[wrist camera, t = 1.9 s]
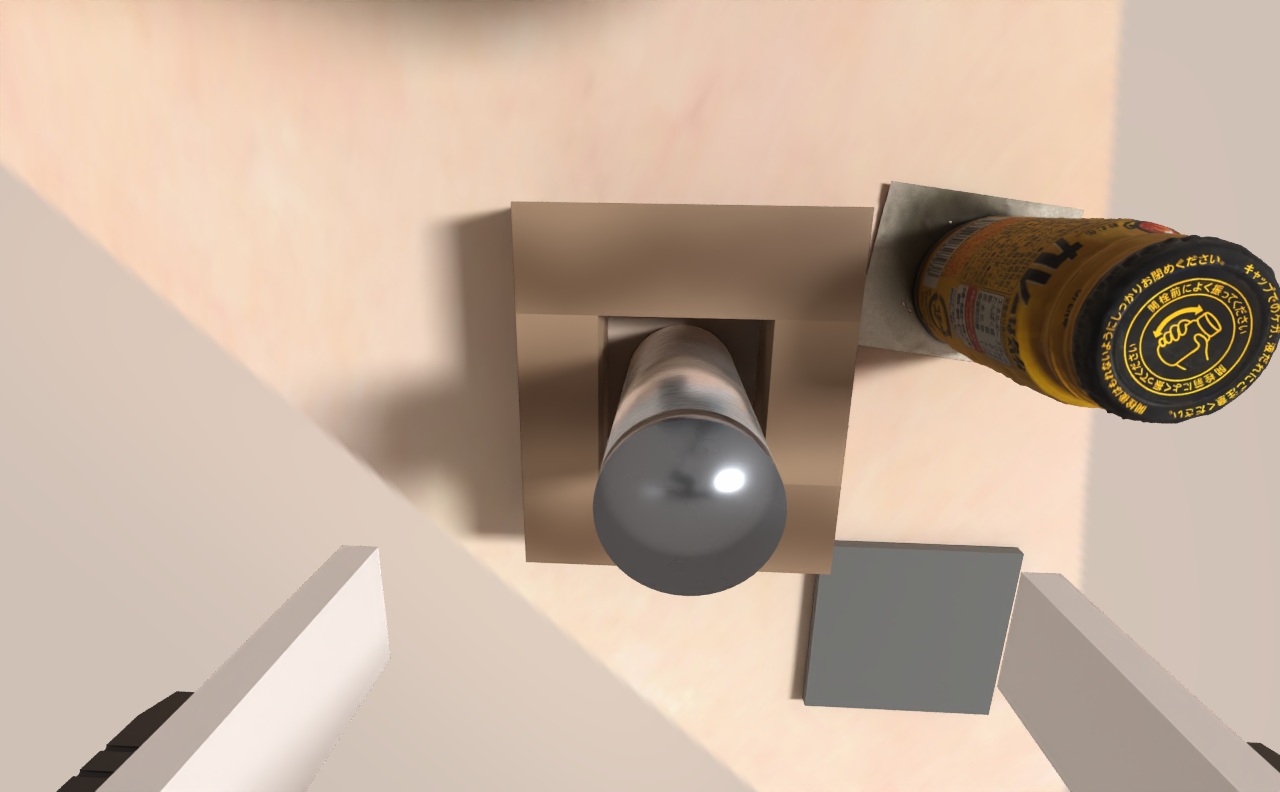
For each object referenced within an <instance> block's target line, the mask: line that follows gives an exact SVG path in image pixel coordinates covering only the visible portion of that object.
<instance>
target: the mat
mask: <svg viewBox="0 0 1280 792" xmlns="http://www.w3.org/2000/svg"><path fill="white" fill-rule="evenodd" d="M1023 555H1024V554H1023V553H1022V552H1021V551H1020V550H1019V549H1018V548H1012V547H987V546H961V545H935V544H910V543H884V542H858V541H834V548H833V557H832V565H831V574H816V582H815V591H814V600H813V609H812V618H811V627H810V636H809V645H808V654H807V663H806V671H805V680H804V689H803V701H804V704H805V706H825V707H845V708H865V709H885V710H905V711H924V712H944V713H964V714H984V715H989V710H990V705H991V701H992V696H993V692H994V687H995V683H996V678H997V674H998V669H999V664H1000V660H1001V655H1002V651H1003V646H1004V642H1005V637H1006V633H1007V628H1008V623H1009V619H1010V614H1011V610H1012V605H1013V601H1014V596H1015V592H1016V587H1017V583H1018V578H1019V573H1020V569H1021V564H1022V560H1023Z"/></svg>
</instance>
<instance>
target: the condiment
mask: <svg viewBox="0 0 1280 792" xmlns="http://www.w3.org/2000/svg"><path fill="white" fill-rule="evenodd" d="M1083 211H1084V210H1082V209H1075V208H1068V207H1061V206H1054V205H1047V204H1040V203H1033V202H1027V201H1020V200H1013V199H1007V198H1000V197H993V196H987V195H980V194H975V193H968V192H961V191H954V190H948V189H940V188H934V187H927V186H920V185H915V184H907V183H901V182H894V181H891V185H890V188H889V192H888V196H887V201H886V203H885V206H884V209H883V214H882V217H881V221H880V225H879V229H878V234H877V237H876V240H875V244H874V248H873V252H872V256H871V260H870V264H869V268H868V272H867V275H866V280H865V288H864V297H863V305H862V314H861V322H860V330H859V339H858V345H862V346H868V347H875V348H882V349H888V350H894V351H903V352H909V353H915V354H923V355H929V356H937V357H944V358H951V359H957V360H964V361H971V362H977V363H979V364H981V365H985V366H987V367H989V368H991V369H993V370H995V371H996V372H999V373H1002V374H1003V375H1005V376H1006V377H1008V378H1011V379H1012V380H1013V381H1014V382H1016V383H1018V384H1019V385H1022V386H1027V387H1029V388H1031V389H1033V390H1035V391H1037V392H1039V393H1041V394H1043V395H1046V396H1048V397H1051V398H1053V399H1055V400H1056V401H1059V402H1062V403H1064V404H1070V405H1075V406H1080V407H1089V408H1102V409H1105V410H1106V411H1107V413H1113V414H1116V415H1117V416H1120V417H1122V419H1130V420H1135V421H1136V420H1137V421H1142V422H1149V423H1179V422H1183V421H1186V420H1188V419H1191V418H1195V417H1199V416H1203V415H1209V414H1212V413H1214V412H1216V411H1218V410H1220V409H1221V408H1223V407H1224V406H1225V405H1227V404H1228V403H1230V402H1231V401H1233V400H1234V399H1236V398H1237V397H1238V396H1239V395H1241V394H1242V393H1243V392H1244V391H1245V390H1247V389H1248V388H1249V387H1250V386H1251V385H1252V384H1253V382H1254V381H1255V380H1256V379H1257V378H1258V377H1259V376H1260V375H1261V373H1262V372H1263V370H1264V369H1265V368H1266V367H1267V365H1268V363H1269V361H1270V359H1271V357H1272V355H1273V352H1274V351H1275V350H1276V348H1277V344H1278V341H1279V339H1280V287H1279V285H1278V283H1277V281H1276V279H1275V274H1274V271H1273V270H1272V268H1270V267H1269V266H1268V265H1267V264H1266V263H1264V262H1263V261H1262V260H1261V259H1259V258H1258V257H1257V256H1255V255H1254V254H1252V253H1251V252H1250V251H1249V250H1247V249H1246V248H1244V247H1243V246H1241V245H1239V244H1235V243H1232V242H1228V241H1226V240H1222V239H1219V238H1216V237H1200V236H1197V235H1190V236H1188V235H1182V234H1180V233H1178V232H1177V231H1175V230H1173V229H1171V228H1168V227H1165V226H1162V225H1159V224H1155V223H1152V222H1146V221H1139V220H1133V219H1121V218H1119V219H1104V218H1099V219H1098V218H1091V219H1085V218H1081V217H1082V214H1083ZM949 221H952V223H951V224H950V223H949ZM902 300H903V301H904V302H905V303H906V306H905V307H904V306H903V305H902V304H901V301H902ZM908 308H911V310H912V312H911V313H909V312H908V310H907V309H908Z"/></svg>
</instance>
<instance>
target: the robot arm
mask: <svg viewBox="0 0 1280 792" xmlns="http://www.w3.org/2000/svg"><path fill="white" fill-rule="evenodd" d="M390 658H391V657H390V648H389V640H388V630H387V621H386V613H385V604H384V595H383V586H382V578H381V568H380V560H379V551H378V547H367V546H341V547H340V548H339V549H338V550H337V551H336V552H335V553H334V554H333V555H332V556H331V557H330V558H329V559H328V560H327V561H326V562H325V563H324V564H323V565H322V566H321V567H320V568H319V569H318V570H317V571H316V572H315V573H314V574H313V575H312V576H311V577H310V578H309V579H308V580H307V581H306V582H305V583H304V584H303V585H302V586H301V587H300V588H299V589H298V590H297V591H296V592H295V593H294V594H293V595H292V596H291V597H290V598H289V599H288V600H287V601H286V602H285V603H284V604H283V605H282V606H281V607H280V608H279V609H278V610H277V611H276V612H275V613H274V614H273V615H272V616H271V617H270V618H269V619H268V620H267V621H266V622H265V623H264V624H263V625H262V626H261V627H260V628H259V629H258V630H257V631H256V632H255V633H254V634H253V635H252V636H251V637H250V638H249V639H248V640H247V641H246V642H245V643H244V644H243V645H242V646H241V647H240V648H239V649H238V650H237V651H236V652H235V653H234V654H233V655H232V656H231V657H230V658H229V659H228V660H227V661H226V662H225V663H224V664H223V665H222V666H221V667H220V668H219V669H218V670H217V671H216V672H215V673H214V674H213V675H212V676H211V677H210V678H209V679H208V680H207V681H206V682H205V683H204V684H203V685H202V686H201V687H200V688H199V689H198V690H197V691H196V692H179V691H178V692H175V693H174V694H172V695H170V696H169V697H167V698H166V699H164V700H162V701H161V702H159V703H157V704H156V705H154V706H153V707H151V708H150V709H148V710H146V711H145V712H143V713H141V714H140V715H138V716H137V717H136V718H135V719H134V720H133V721H132V722H131V723H130V724H128V725H127V726H126V727H125V728H124V729H123V730H122V731H121V732H120V733H119V734H118V735H117V736H116V737H115V738H113V739H112V740H111V741H110V742H109V743H108V744H107V747H106V749H105V750H104V751H100V752H98V753H97V754H96V755H95V756H94V757H93V758H92V759H91V760H90V761H89V762H88V763H87V764H86V765H85V766H84V767H82V769H80V773H79V775H78V776H76V777H75V776H73V777H72V778H71V779H70V780H68V782H66V783H65V784H64V785H63V786H62V787H61V788H60V789H59V790H58V791H57V792H306V790H307V789H308V787H309V786H310V784H311V783H312V781H313V780H314V778H315V776H316V775H317V773H318V772H319V770H320V768H321V767H322V765H323V764H324V762H325V761H326V759H327V758H328V756H329V754H330V753H331V751H332V750H333V748H334V746H335V745H336V743H337V742H338V740H339V739H340V737H341V735H342V734H343V732H344V731H345V729H346V728H347V726H348V724H349V723H350V721H351V720H352V718H353V717H354V715H355V714H356V712H357V710H358V709H359V707H360V706H361V704H362V702H363V701H364V699H365V698H366V696H367V695H368V693H369V691H370V690H371V688H372V686H373V685H374V684H375V682H376V680H377V679H378V677H379V676H380V674H381V673H382V671H383V669H384V668H385V666H386V665H387V663H388V661H389V660H390ZM997 687H998V689H999V690H1000V691H1001V693H1002V694H1003V696H1004V697H1005V699H1006V700H1007V701H1008V703H1009V704H1010V706H1011V707H1012V709H1013V710H1014V711H1015V713H1016V714H1017V716H1018V717H1019V719H1020V720H1021V721H1022V723H1023V724H1024V726H1025V727H1026V729H1027V730H1028V731H1029V733H1030V734H1031V736H1032V737H1033V739H1034V740H1035V742H1036V743H1037V744H1038V746H1039V747H1040V749H1041V750H1042V752H1043V753H1044V754H1045V756H1046V757H1047V759H1048V760H1049V762H1050V763H1051V764H1052V766H1053V767H1054V769H1055V770H1056V772H1057V773H1058V774H1059V776H1060V777H1061V779H1062V780H1063V782H1064V783H1065V784H1066V786H1067V787H1068V789H1069V790H1070V792H1280V755H1278V754H1277V753H1276V752H1274V751H1272V750H1271V749H1269V748H1267V747H1266V746H1264V745H1263V744H1261V743H1249V742H1245V741H1244V740H1243V739H1242V738H1241V737H1240V736H1238V735H1237V734H1236V733H1235V732H1234V731H1233V730H1232V729H1231V728H1230V727H1228V726H1227V725H1226V724H1225V723H1224V722H1223V721H1222V720H1221V719H1220V718H1219V717H1217V716H1216V715H1215V714H1214V713H1213V712H1212V711H1211V710H1210V709H1209V708H1207V706H1205V705H1204V704H1203V703H1202V702H1201V701H1200V700H1199V699H1198V698H1197V697H1196V696H1194V695H1193V694H1192V693H1191V692H1190V691H1189V690H1188V689H1187V688H1186V687H1185V686H1184V685H1182V684H1181V683H1180V682H1179V681H1178V680H1177V679H1176V678H1175V677H1174V676H1172V675H1171V674H1170V673H1169V672H1168V671H1167V670H1166V669H1165V668H1164V667H1163V666H1162V665H1160V664H1159V663H1158V662H1157V661H1156V660H1155V659H1154V658H1153V657H1152V656H1151V655H1149V654H1148V653H1147V652H1146V651H1145V650H1144V649H1143V648H1142V647H1141V646H1140V645H1138V644H1137V643H1136V642H1135V641H1134V640H1133V639H1132V638H1131V637H1130V636H1128V635H1127V634H1126V633H1125V632H1124V631H1123V630H1122V629H1121V628H1120V627H1119V626H1118V625H1116V624H1115V623H1114V622H1113V621H1112V620H1111V619H1110V618H1109V617H1108V616H1106V615H1105V614H1104V613H1103V612H1102V611H1101V610H1100V609H1099V608H1098V607H1097V606H1096V605H1094V604H1093V603H1092V602H1091V601H1090V600H1089V599H1088V598H1087V597H1086V596H1085V595H1083V594H1082V593H1081V592H1080V591H1079V590H1078V589H1077V588H1076V587H1075V586H1074V585H1072V584H1071V583H1070V582H1069V581H1068V580H1067V579H1066V578H1065V577H1064V576H1063V575H1061V574H1054V573H1028V572H1021V577H1020V581H1019V586H1018V591H1017V595H1016V600H1015V605H1014V610H1013V614H1012V619H1011V624H1010V628H1009V633H1008V638H1007V642H1006V647H1005V652H1004V656H1003V661H1002V666H1001V671H1000V675H999V680H998V685H997Z"/></svg>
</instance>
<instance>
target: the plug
mask: <svg viewBox="0 0 1280 792" xmlns="http://www.w3.org/2000/svg"><path fill="white" fill-rule="evenodd" d="M593 518H594V524H595V528H596V532H597V535H598V537H599V540H600V542H601V544H602V546H603V548H604V550H605V551H606V553H607V554H608V556H609V557H610V558H611V560H612V561H613V562H614V563H615V564H616V565H617V566H618V567H619V568H620V569H621V570H622V571H623V572H624V573H625V574H627V575H628V576H629V577H631V578H632V579H634V580H635V581H637V582H639V583H640V584H642V585H645V586H647V587H649V588H651V589H654V590H657V591H660V592H664V593H668V594H673V595H682V596H699V595H707V594H712V593H716V592H721V591H724V590H726V589H729V588H732V587H734V586H736V585H738V584H740V583H742V582H744V581H745V580H747V579H748V578H749V577H751V576H752V575H754V574H755V573H756V572H757V571H758V570H759V569H761V568H762V567H763V566H764V564H765V563H766V562H767V561H768V560H769V559H770V557H771V556H772V554H773V553H774V551H775V550H776V548H777V546H778V544H779V542H780V540H781V538H782V535H783V532H784V528H785V524H786V518H787V500H786V492H785V489H784V485H783V482H782V479H781V477H780V474H779V472H778V469H777V467H776V464H775V462H774V460H773V457H772V455H771V452H770V450H769V447H768V445H767V443H766V440H765V438H764V435H763V433H762V430H761V428H760V425H759V423H758V421H757V418H756V416H755V413H754V411H753V408H752V406H751V404H750V401H749V399H748V396H747V394H746V391H745V389H744V386H743V384H742V382H741V379H740V377H739V374H738V372H737V369H736V367H735V365H734V362H733V360H732V357H731V355H730V353H729V351H728V350H727V348H726V347H725V345H724V344H723V343H722V342H721V341H720V340H719V339H718V338H717V337H716V336H714V335H713V334H712V333H710V332H708V331H706V330H704V329H702V328H699V327H695V326H691V325H674V326H668V327H665V328H662V329H660V330H658V331H656V332H654V333H652V334H651V335H649V336H648V337H647V338H646V339H644V340H643V342H642V343H641V344H640V345H639V346H638V348H637V349H636V350H635V352H634V354H633V356H632V359H631V361H630V365H629V368H628V372H627V375H626V379H625V383H624V386H623V390H622V393H621V397H620V401H619V404H618V408H617V412H616V415H615V419H614V422H613V426H612V430H611V433H610V437H609V440H608V444H607V448H606V451H605V455H604V458H603V462H602V466H601V469H600V473H599V476H598V480H597V484H596V488H595V492H594V497H593Z"/></svg>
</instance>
